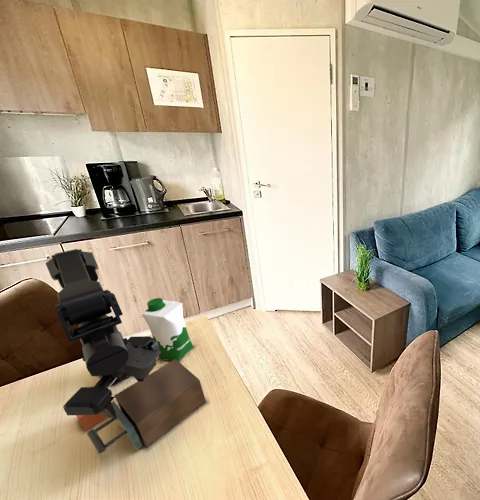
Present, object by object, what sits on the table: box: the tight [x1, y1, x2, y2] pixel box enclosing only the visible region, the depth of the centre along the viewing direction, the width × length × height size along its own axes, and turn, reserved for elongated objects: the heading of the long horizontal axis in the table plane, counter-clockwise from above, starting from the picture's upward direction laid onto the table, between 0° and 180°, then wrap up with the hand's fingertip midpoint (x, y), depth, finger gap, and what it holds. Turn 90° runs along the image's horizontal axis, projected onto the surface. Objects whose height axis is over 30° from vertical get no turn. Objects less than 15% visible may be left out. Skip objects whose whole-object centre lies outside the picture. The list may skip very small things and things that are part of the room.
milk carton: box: [141, 297, 194, 362], centre depth 90 cm, size 9×9×20 cm
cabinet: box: [113, 359, 207, 448], centre depth 74 cm, size 15×13×9 cm
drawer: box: [86, 400, 143, 455], centre depth 70 cm, size 19×11×7 cm, turn 145°
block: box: [75, 413, 107, 432], centre depth 72 cm, size 4×4×4 cm
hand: (128, 398), depth 64 cm, fingers open, 9 cm apart
